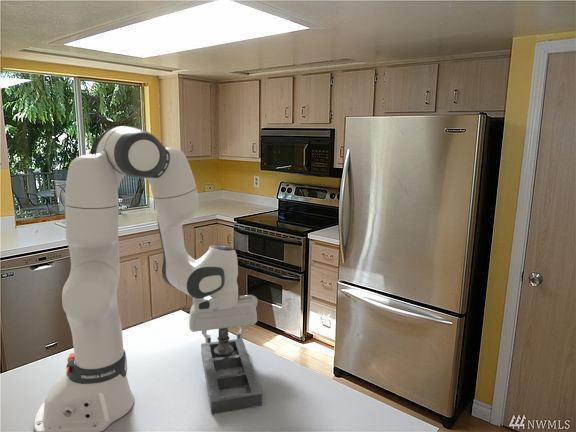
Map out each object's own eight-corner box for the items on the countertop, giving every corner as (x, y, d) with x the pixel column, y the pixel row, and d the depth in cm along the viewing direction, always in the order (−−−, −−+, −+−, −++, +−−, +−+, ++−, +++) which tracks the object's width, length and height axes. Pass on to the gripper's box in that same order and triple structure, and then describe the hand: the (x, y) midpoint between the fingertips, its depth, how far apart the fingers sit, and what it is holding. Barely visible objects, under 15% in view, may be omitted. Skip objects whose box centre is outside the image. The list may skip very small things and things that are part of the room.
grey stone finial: (231, 365, 126) (231, 329, 123) (212, 365, 126) (211, 328, 123) (234, 355, 131) (234, 320, 129) (216, 354, 132) (215, 319, 129)
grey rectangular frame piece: (211, 414, 105) (211, 402, 104) (201, 353, 132) (201, 343, 131) (262, 405, 109) (262, 393, 108) (242, 348, 135) (242, 338, 135)
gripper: (255, 290, 130) (255, 330, 133) (187, 296, 124) (189, 338, 127) (259, 298, 124) (259, 340, 127) (189, 305, 118) (190, 349, 121)
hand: (223, 339), depth 127 cm, fingers open, 8 cm apart
